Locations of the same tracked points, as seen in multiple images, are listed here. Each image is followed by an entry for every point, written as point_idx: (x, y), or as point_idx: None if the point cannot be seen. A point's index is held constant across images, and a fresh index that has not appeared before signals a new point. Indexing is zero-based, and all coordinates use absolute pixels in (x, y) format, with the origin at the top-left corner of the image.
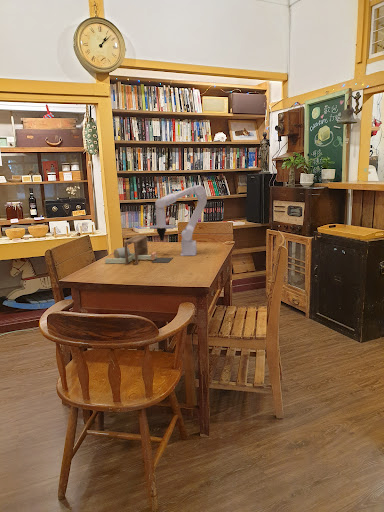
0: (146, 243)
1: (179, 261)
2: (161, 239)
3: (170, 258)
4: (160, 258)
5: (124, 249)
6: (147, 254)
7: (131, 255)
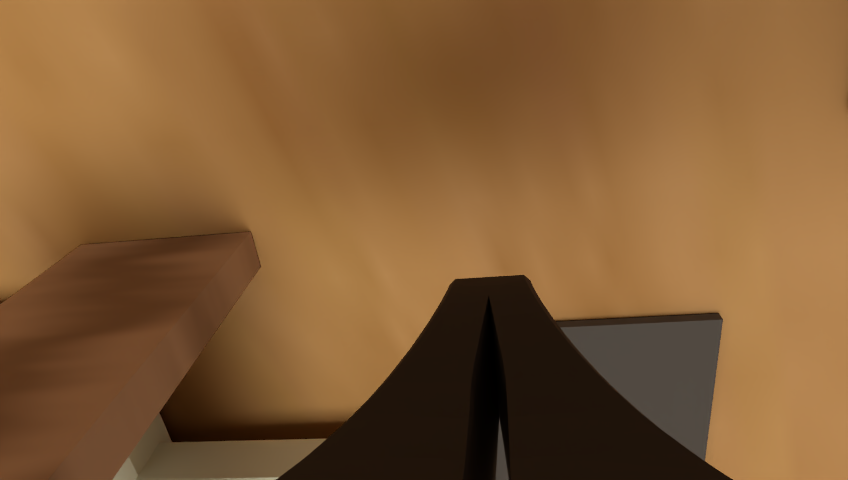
0: (140, 436)
1: (844, 469)
2: (498, 406)
3: (691, 372)
4: None
5: None
6: (243, 280)
7: (117, 476)
